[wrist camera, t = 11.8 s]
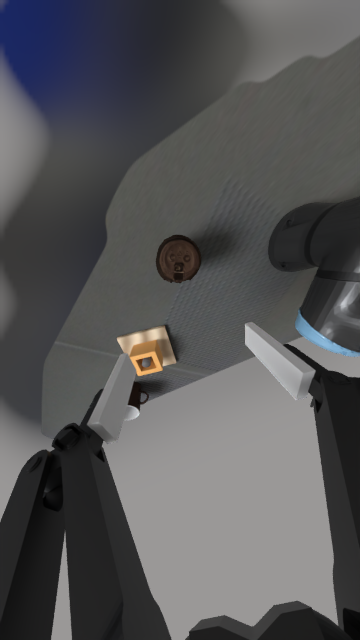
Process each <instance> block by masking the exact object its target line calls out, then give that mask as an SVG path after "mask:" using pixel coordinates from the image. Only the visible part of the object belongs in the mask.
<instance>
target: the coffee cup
mask: <svg viewBox="0 0 360 640" xmlns="http://www.w3.org/2000/svg"><path fill="white" fill-rule="evenodd" d="M200 265H201V253H200V251H199V249H198V247H197V245H196V244H195V243H194V242H193V241H192V240H191V239H189V238H188V237H185V236H183V235H173V236H171V237H169V238H167V239H165V240H164V241H163V242H162V244H161V245H160V246H159V249H158V252H157V258H156V267H157V270H158V273H159V274H160V276H161V277H162V278H163V279H164V280H166V281H168V282H170V283H172V282H176V283H181V282H182V281H186V280H191V279H192V278H193V277H194V276H195V275H196V273H197V272H198V270H199V268H200Z"/></svg>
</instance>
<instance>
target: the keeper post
mask: <svg viewBox="0 0 360 640" xmlns="http://www.w3.org/2000/svg"><path fill="white" fill-rule="evenodd" d="M117 340H118V342H119V344H120V346H121V348H122V350H123V351H124V353H128V355H130V353H131V350H132V347H133V345H137V344H141V343H145V342H149V341H153V340H157V343H158V345H159V348H160V350H161V353H162V356H163V366H165V365H170V364H174V363H176V359H175V355H174V352H173V349H172V346H171V343H170V340H169V337H168V334H167V331H166V328H165V325H163V326H158V327H154V328H150V329H146V330H142V331H138V332H134V333H130V334H126V335H122V336H118V337H117ZM151 358H152V356H150V357H146V358H143V361H142V366H143V367H149V366H150V365H151ZM136 373H137V372H136Z"/></svg>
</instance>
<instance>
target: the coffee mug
mask: <svg viewBox="0 0 360 640" xmlns="http://www.w3.org/2000/svg"><path fill="white" fill-rule="evenodd" d="M141 392H142V393H145V394H147V393H146V392H145V391H141V385H140V384H139V383H137V382H133V386H132V390H131V393H130V397H129V401H128V405H127V408H126V412H125V416H124V419H123V420H132V419H135V418H137V417H138V416H139V413H140V404H144V403H146V402H147V400H148V398H149V395H148V394H147V399H146V400H145V401H144V402H140V398H141Z"/></svg>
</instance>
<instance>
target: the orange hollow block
mask: <svg viewBox="0 0 360 640" xmlns="http://www.w3.org/2000/svg"><path fill="white" fill-rule="evenodd" d="M150 356H152V358H151V365H150V366H149V367H143V366H142V361H143V358H146V357H150ZM129 357H130V359H131V361H132V363H133V365H134V367H135V368H136V370H137V371H136V372H137V374H138V376H141V375H145V374H149V373H153V372H157V371H162V370H163V356H162V353H161V350H160V348H159V345H158V343H157V340H153V341H149V342H145V343H141V344H137V345H133V347H132V350H131V353H130V355H129Z"/></svg>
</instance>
